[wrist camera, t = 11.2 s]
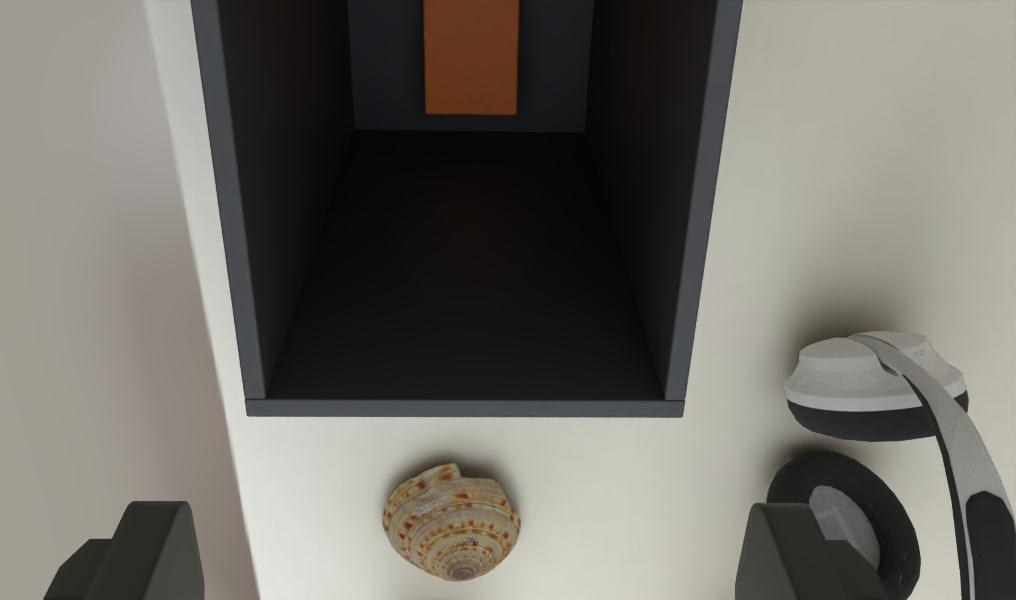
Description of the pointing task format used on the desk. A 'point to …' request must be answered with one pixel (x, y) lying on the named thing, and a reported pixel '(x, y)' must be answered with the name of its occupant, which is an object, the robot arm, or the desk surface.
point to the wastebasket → (465, 208)
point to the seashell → (451, 523)
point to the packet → (471, 56)
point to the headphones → (895, 417)
